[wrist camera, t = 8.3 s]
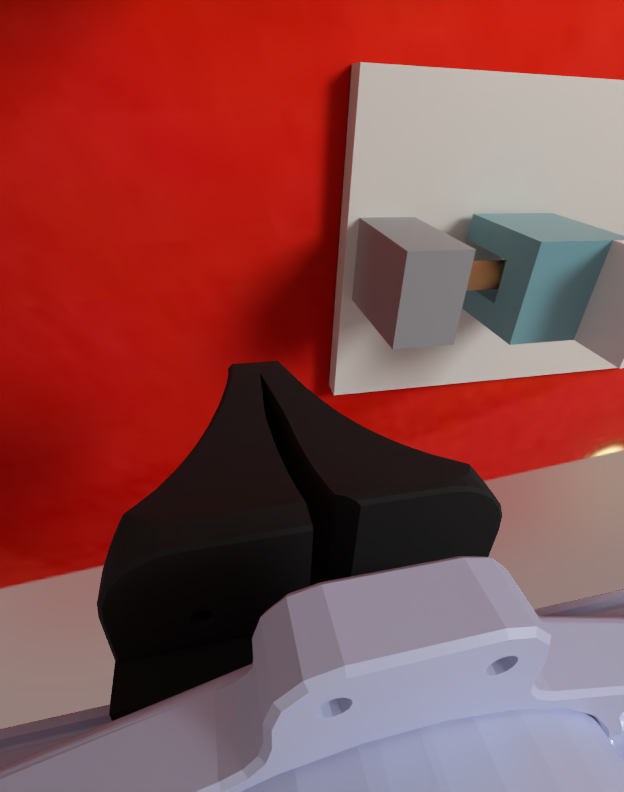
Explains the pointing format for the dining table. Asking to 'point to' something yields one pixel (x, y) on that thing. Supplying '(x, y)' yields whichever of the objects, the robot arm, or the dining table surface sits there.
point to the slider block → (552, 282)
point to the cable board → (459, 214)
